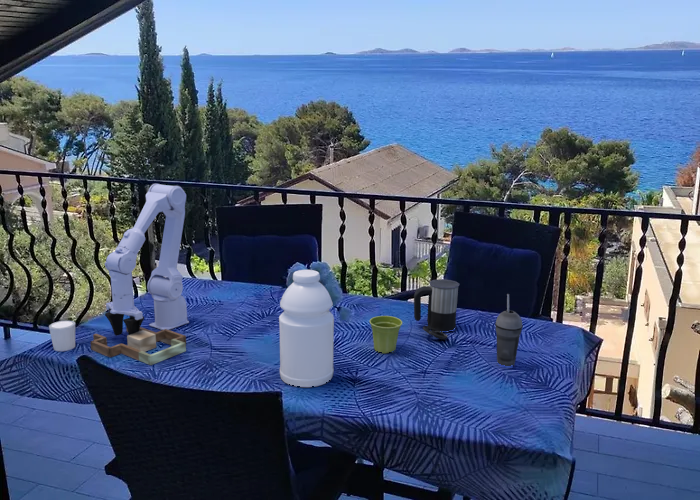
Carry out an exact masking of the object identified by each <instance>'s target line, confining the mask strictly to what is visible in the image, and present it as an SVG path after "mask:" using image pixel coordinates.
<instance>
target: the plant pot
mask: <svg viewBox="0 0 700 500" xmlns="http://www.w3.org/2000/svg"><path fill="white" fill-rule="evenodd" d="M369 324H370V328H371V330H372V339H373V341H372V342H373V349H374V350H375V352H377V351H378V352H377V353H379V352H382V353H381V354H389V352H392V351H394V350H395V351H396V349H397V343H398V337H399V334H400V333H399V331H400V329H401V326H402V325H403V321H402V320H401V319H400V318H398V317H397V316H390V315H378V316H374V317H372V318H370V319H369ZM395 351H394V352H395ZM392 353H393V352H392Z"/></svg>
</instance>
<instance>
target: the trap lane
mask: <svg viewBox="0 0 700 500" xmlns="http://www.w3.org/2000/svg"><path fill="white" fill-rule="evenodd" d="M125 329H126V332H127V333H128V330H127V327H126V326H125ZM142 330H145V331H148V332H150V333H153V334H155V335H156V343H157V342H161V343H163V344H166V345H168V346H170V347H167V348H164V349H162V350H159V351H157V352H154V353H148V352H147V351H146V352H143V351H140V350H138V349H135V348H133V347H130V346H128V344H124V343H118V344H115V345H113V346H108V340H107V337H106V336H104V335H101V334H98V333H94V334H93V335H92V336H93V337H92V338H93V340H90V342H89V343H90V350H91V351H93V352H96V353H97V354H101V355H103V356H105V357H107V358H113V357H115V356H118V355H124V356H127V357H130V358H132V359H133V360H136V361H138V362H139V361H140V362H142V363H143V364H144V363H145V364H146V365H149V366H153V365H155V364H158V363H160V362H162V361H166V360H168V359H169V358H170V359H171V358H172V357H175V356H177V355H180V354H182V353H185V352H187V335H184V334H182V333H178V332H175V331H172V330H171V329H170V330H167V329H164V330H159V331H153V330H150V329H148V328H144V327H142V326H140V329H139V331H142Z"/></svg>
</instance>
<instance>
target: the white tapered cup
mask: <svg viewBox="0 0 700 500" xmlns="http://www.w3.org/2000/svg"><path fill="white" fill-rule="evenodd" d="M48 328H49V333H50V338H51V342H52V346H53V347H52V348H53V350H54V351H55V352H56V351H57V352H66V351H67V352H68V351H70V350H73V349H75V348H76V322H75V321H73V320H60V321H56V322H53V323H51V324H49V325H48Z"/></svg>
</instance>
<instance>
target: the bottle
mask: <svg viewBox="0 0 700 500" xmlns="http://www.w3.org/2000/svg"><path fill="white" fill-rule="evenodd" d="M292 280H293V282H292V283H291V284H290V285H289V286H288V287H287V288H286V290H285V291H284V292H283V294H282V297H281V298H280V302H279V306H280V308H281V309H282V310H283V312H282V313H281V314H280V315H279V317H278V322H279V325H278V326H279V366H280V367H279V376H280V380H282V381H283V382H284V383H285V384H286V385H289V384H290V385H289V386H292V385H294V386H293V387H297V386H300V387H299V388H313V387H312V386H314V387H319V386H322V385H326V384H327V383H329V382H330V381H331V379H333V376H334V372H335V370H334V328H335V327H334V326H335V325H334V323H335V317H334V315H333V313H332V312H331V311H330V309H331V308H332V307H333V305H334V304H333V301H332V298H331V297H332V296H331V294H330V292H329V291H328V289H327V288H326V286H324V285H323V283H321V282H320V280H321V275H320V272H319V271H317V270H313V269H299V270H296V271H294V272H293V273H292ZM329 380H330V381H329ZM326 382H327V383H326Z"/></svg>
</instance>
